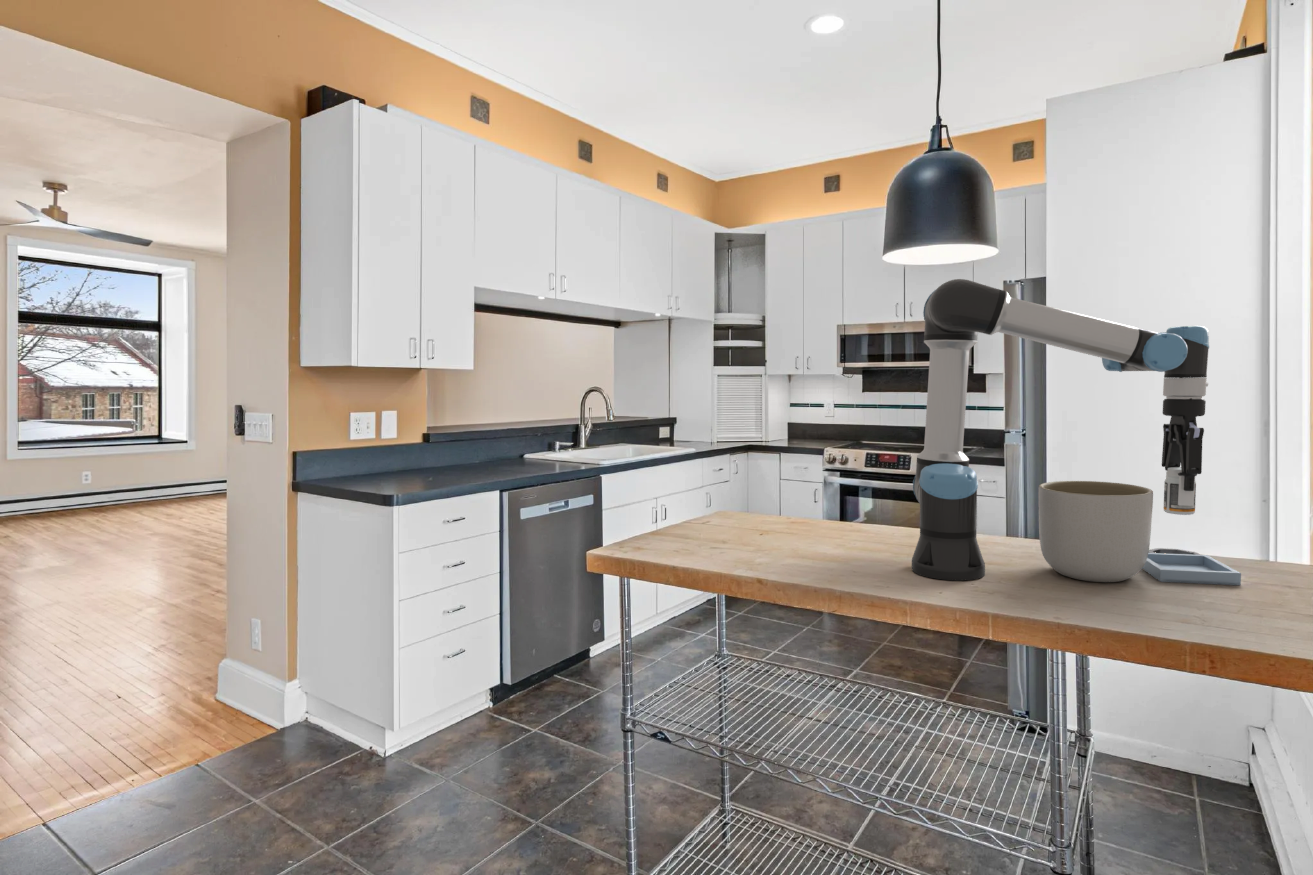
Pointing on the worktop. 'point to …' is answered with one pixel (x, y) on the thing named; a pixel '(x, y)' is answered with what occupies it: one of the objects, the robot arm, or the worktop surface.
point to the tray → (1190, 569)
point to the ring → (1172, 551)
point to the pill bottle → (1175, 494)
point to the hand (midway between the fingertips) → (1179, 502)
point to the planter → (1095, 528)
